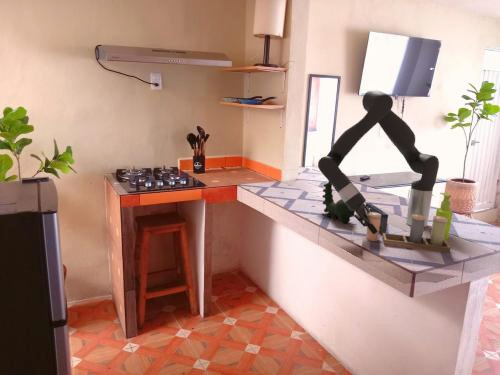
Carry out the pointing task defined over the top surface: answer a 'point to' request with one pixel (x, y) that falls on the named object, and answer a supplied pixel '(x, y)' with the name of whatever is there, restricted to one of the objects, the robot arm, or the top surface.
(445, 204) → the soap dispenser
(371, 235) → the terracotta jar
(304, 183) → the top surface
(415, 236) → the slate blue jar
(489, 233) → the top surface
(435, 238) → the olive jar
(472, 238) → the top surface
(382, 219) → the vhs cassette tape
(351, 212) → the toy figurine
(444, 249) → the walnut spice rack
